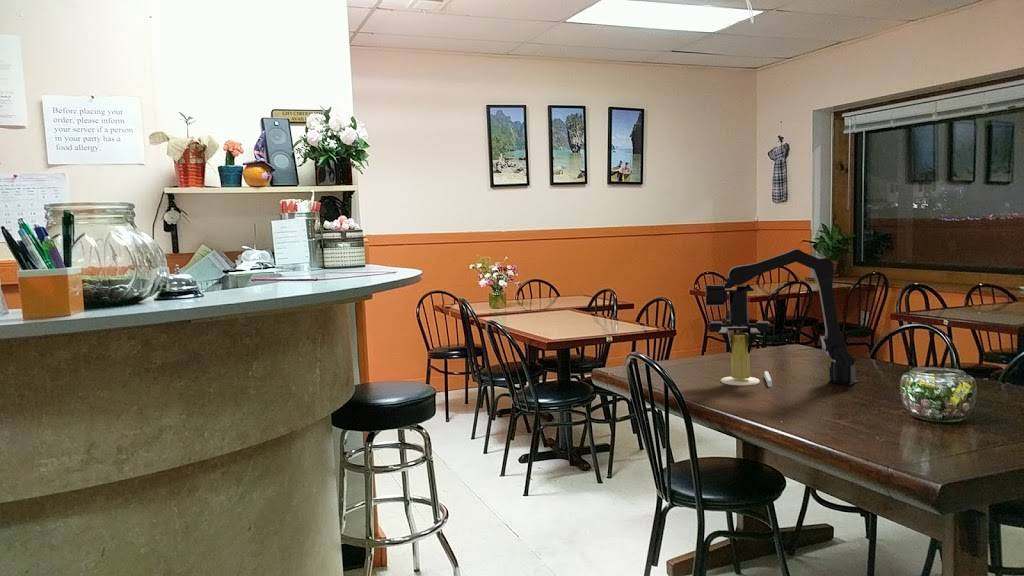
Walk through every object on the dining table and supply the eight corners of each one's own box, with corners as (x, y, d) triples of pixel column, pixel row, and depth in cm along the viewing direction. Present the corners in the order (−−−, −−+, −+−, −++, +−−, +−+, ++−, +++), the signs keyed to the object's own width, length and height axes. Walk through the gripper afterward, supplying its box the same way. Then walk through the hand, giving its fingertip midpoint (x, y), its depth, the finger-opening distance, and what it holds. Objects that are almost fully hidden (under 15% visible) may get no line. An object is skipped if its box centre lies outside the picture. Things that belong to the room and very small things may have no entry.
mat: (766, 380, 225) (766, 379, 225) (746, 387, 217) (746, 385, 217) (734, 376, 234) (734, 374, 234) (713, 382, 226) (713, 380, 226)
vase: (753, 378, 222) (751, 334, 221) (733, 379, 223) (732, 335, 221) (747, 374, 228) (745, 332, 227) (728, 375, 229) (727, 332, 228)
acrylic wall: (764, 377, 230) (764, 371, 230) (767, 377, 230) (767, 371, 230) (768, 386, 217) (768, 380, 217) (771, 386, 217) (771, 380, 216)
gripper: (769, 302, 228) (770, 348, 229) (710, 302, 234) (711, 348, 236) (769, 305, 218) (770, 355, 219) (707, 306, 224) (709, 354, 225)
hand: (739, 352), depth 225 cm, fingers closed on vase, 5 cm apart
